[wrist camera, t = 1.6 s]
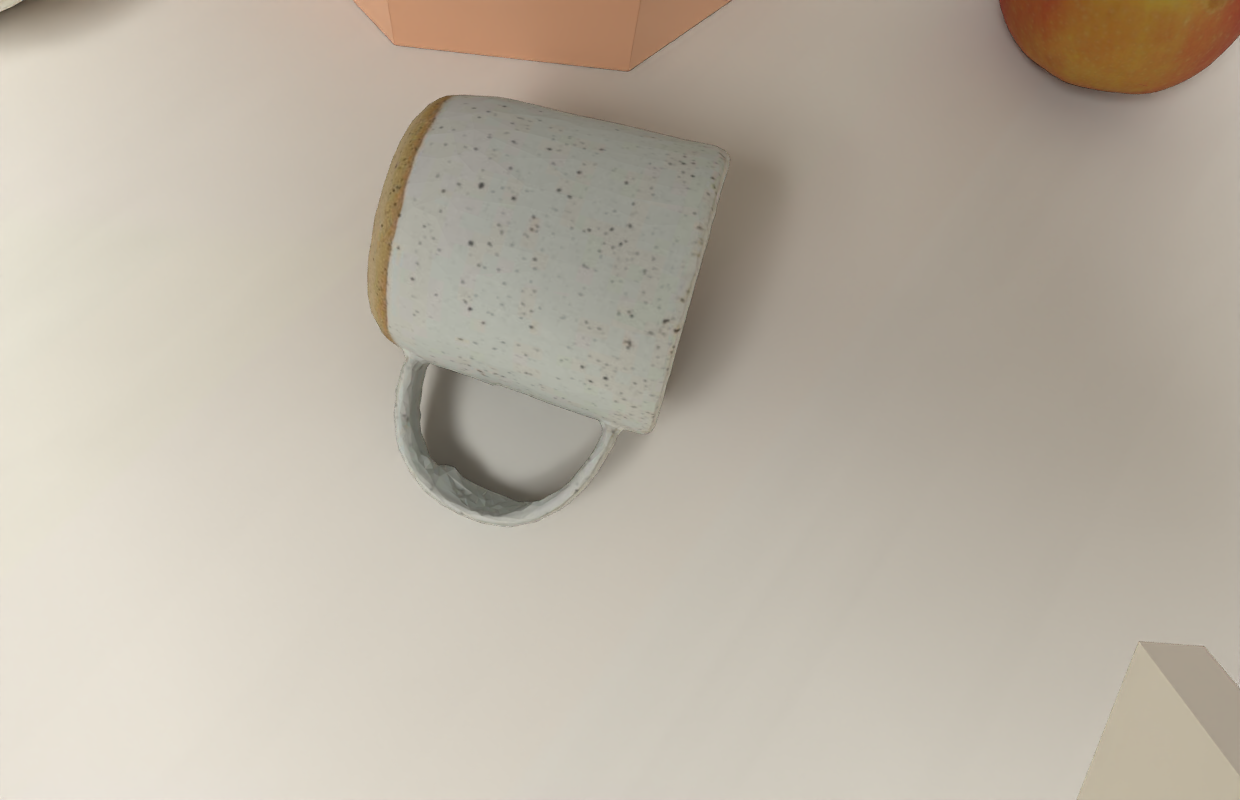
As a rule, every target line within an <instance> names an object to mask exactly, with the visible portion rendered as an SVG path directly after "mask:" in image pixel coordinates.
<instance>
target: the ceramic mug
mask: <svg viewBox="0 0 1240 800" xmlns="http://www.w3.org/2000/svg"><path fill="white" fill-rule="evenodd" d="M729 163H730V157H729V154H728V153H727V152H726V151H725V150H723V149H721V148H719V147H717V146H714V145H709V144H704V143H699V142H694V141H689V140H684V139H680V138H676V137H672V136H668V135H664V134H659V133H655V132H651V131H646V130H642V129H638V128H634V127H630V126H626V125H622V124H617V123H613V122H608V121H603V120H598V119H593V118H589V117H584V116H579V115H574V114H570V113H566V112H562V111H557V110H553V109H549V108H545V107H542V106H538V105H534V104H530V103H526V102H521V101H517V100H513V99H507V98H501V97H491V96H474V95H451V96H445V97H442V98H439V99H438V100H436V101H434V102H432V103H431V104H429V105H428V106H427V107H426V108H425V109H424V110H423V111H422V112H421V113H420V114H419V115H418V116H417V117H416V118H415V119H414V120H413V121H412V123H411V124H410V126H409V127H408V129H407V131H406V132H405V134H404V136H403V138H402V139H401V141H400V143H399V145H398V148H397V150H396V152H395V154H394V156H393V159H392V162H391V165H390V168H389V171H388V174H387V177H386V180H385V183H384V186H383V189H382V193H381V197H380V200H379V204H378V208H377V211H376V215H375V219H374V226H373V233H372V240H371V246H370V251H369V259H368V273H367V282H368V298H369V303H370V308H371V312H372V314H373V316H374V318H375V320H376V321H377V323H378V325H379V327H380V329H381V332H382V333H383V334H384V335H385V336H386V337H387V339H389V340H390V341H391V342H393V343H394V344H396V345H397V346H398V347H400V348H401V349H402V350H403V351H404V354H405V358H406V360H405V363H404V365H403V368H402V370H401V373H400V378H399V382H398V385H397V388H396V402H395V409H394V418H395V428H396V439H397V443H398V447H399V450H400V452H401V454H402V456H403V459H404V461H405V462H406V464H407V466H408V468H409V470H410V472H411V474H412V475H413V476H414V478H415V479H416V480H417V482H418V483H419V484H420V486H421V487H422V489H423V490H424V491H425V492H426V493H427V494H428V495H429V496H431V497H433V498H434V499H436V500H437V501H438V502H439V503H440V504H441V505H443V506H445V507H447V508H449V509H450V510H452V511H454V512H456V513H458V514H460V515H462V516H465V517H467V518H470V519H472V520H475V521H477V522H480V523H484V524H490V525H496V526H502V527H505V526H508V527H513V526H518V525H522V524H527V523H533V522H537V521H539V520H541V519H543V518H545V517H547V516H549V515H551V514H553V513H555V512H557V511H559V510H560V509H562V508H563V507H565V506H566V505H568V504H569V503H570V502H571V501H572V500H573V499H574V498H576V497H577V496H578V495H579V494H580V493H581V492H582V491H583V490H584V489H585V488H586V487H587V486H588V484H589V483H590V482H591V480H592V479H593V478H594V476H595V475H596V474H597V472H598V471H599V469H600V468H601V466H602V464H603V463H604V461H605V459H606V458H607V456H608V454H609V453H610V451H611V449H612V448H613V446H614V444H615V441H616V439H617V437H618V434H620V433H621V432H622V431H623V430H628V431H632V432H636V433H640V434H647V433H649V432H651V431H652V430H653V428H654V427H655V424H656V421H657V418H658V414H659V411H660V408H661V404H662V401H663V398H664V394H665V389H666V385H667V382H668V379H669V376H670V374H671V370H672V366H673V362H674V358H675V354H676V351H677V347H678V343H679V340H680V337H681V333H682V330H683V326H684V323H685V321H686V317H687V311H688V308H689V305H690V302H691V298H692V295H693V291H694V287H695V284H696V280H697V277H698V274H699V271H700V267H701V263H702V259H703V256H704V252H705V249H706V246H707V243H708V240H709V236H710V231H711V227H712V223H713V220H714V217H715V214H716V209H717V204H718V201H719V199H720V193H721V190H722V187H723V183H724V180H725V177H726V174H727V171H728V168H729ZM429 364H433V365H436V366H438V367H442V368H445V369H449V370H452V371H455V372H457V373H460V374H463V375H467V376H470V377H473V378H476V379H478V380H481V381H483V382H486V383H488V384H491V385H501V386H503V387H506V388H509V389H512V390H515V391H518V392H521V393H524V394H526V395H529V396H531V397H534V398H536V399H539V400H542V401H544V402H547V403H550V404H552V405H555V406H558V407H561V408H565V409H567V410H569V411H573V412H576V413H579V414H581V415H585V416H587V417H591V418H594V419H597V420H599V422H600V424H601V426H602V435H601V437H600V439H599V441H598V443H597V445H596V447H595V449H594V451H593V452H592V454H591V455H590V457H589V458H588V460H587V461H586V462H585V463H584V465H583V466H582V467H581V468H580V469H579V471H578V472H577V473H576V474H575V476H574V477H573V478H572V479H571V480H570V482H568V483H567V484H566V485H565V486H564V487H563V488H561V489H560V490H559V491H557V492H555V493H553V494H550V495H549V496H547V497H546V498H544V499H542V500H539V501H534V502H528V501H527V502H518V501H514V500H512V499H510V498H508V497H506V496H503V495H500V494H498V493H495V492H493V491H490V490H487V489H485V488H483V487H480V486H478V485H476V484H474V483H473V482H471V481H469V480H467V479H465V478H464V477H462V476H461V475H460V474H459V472H458V471H457V470H456V468H455V467H452V466H448V465H440V466H438V465H437V464H436V462H434V461H433V460H432V458H431V457H430V455H429V452H428V449H427V446H426V444H425V441H424V438H423V436H422V434H421V427H420V419H421V412H420V402H421V395H422V385H423V381H424V377H425V373H426V369H427V366H428V365H429Z"/></svg>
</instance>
